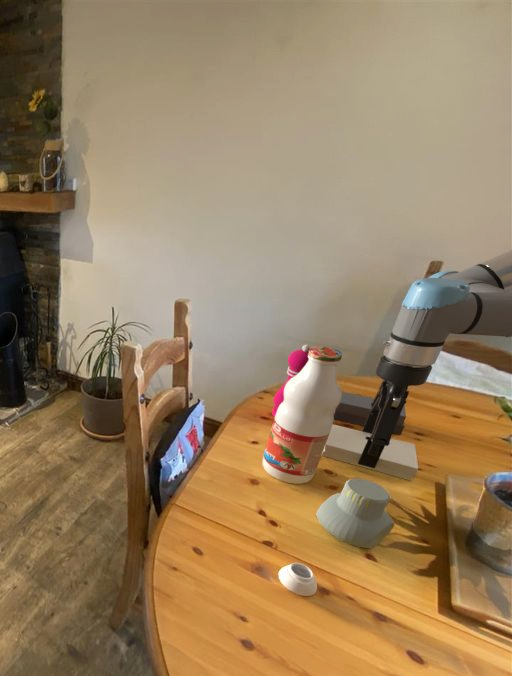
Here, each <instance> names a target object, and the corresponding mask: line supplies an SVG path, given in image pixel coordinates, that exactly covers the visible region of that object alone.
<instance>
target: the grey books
mask: <svg viewBox="0 0 512 676" xmlns="http://www.w3.org/2000/svg"><path fill="white" fill-rule="evenodd" d="M374 398H375V397H372V396H371V397H370V396H365V395H361V394H356V393H352V392H346V391H342V399H341V402H340V404H339V405H338V407H337V408H336V409H335V410H334V412H333V415H334V421H339V422H342V423H343V422H344V423H348V424H352V425H356V426H361V427H364V425H365V423H366V420H367V418H368V416H369V414H372V413H370V409H371V408H372V407H371V403H372V402H373V400H374ZM405 405H406V404H405ZM405 405H404V407H403V409H402V411H401V413H400V416H399V419H398V421H397V424H396V426H395V429H394V431H393V434H394V435H399V436H401V435H402V433H403V432H404V429H405V427H406V425H405V420H406V419H407V413H406V406H405Z"/></svg>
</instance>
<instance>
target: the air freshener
mask: <svg viewBox="0 0 512 676" xmlns="http://www.w3.org/2000/svg"><path fill="white" fill-rule="evenodd" d="M390 500H391V495H390V493H389V492H388V491H387V490H386V489H385V488H384V487H383V486H382V485H380V484H378V483H376V482H374V481H372V480H369V479H364V478H351V479H348V480H346V481H345V483H344V485H343V488H342V490H341V492H338V493H335V494H332V495H330V496H329V497H328V498H327V499H326V500H325V501H324V502H323V503H322V504H320V506H319V507H318V508H317V510H316V513H315V516H316V518H317V520H318V522H319V523H320V525H321V526H322V527H323V529H324V530H325V531H327V532H328V533H329V534H330V535H331V536H333V537H334V538H336V539H338V540H339V541H341V542H344V543H346V544H349V545H351V546H354V547H359V548H364V549H373V548H374V547H376V546H378V545H379V544H380V543H381V542H382V541H383V540H385V538H386V537H387V536H389V534H390V533H391V531H392V530H393V528H394V526H395V521H394V520H393V519H392V516H390V515H389V513H388V512H387V511H386V508H387V507H388V504H389V502H390Z"/></svg>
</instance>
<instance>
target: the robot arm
mask: <svg viewBox="0 0 512 676" xmlns="http://www.w3.org/2000/svg"><path fill="white" fill-rule="evenodd" d="M405 295H406V296H405V297H404V299H403V300H402V302H401V306H400V310H399V312H398V315H397V318H396V320H395V323H394V324H393V325H394V326H393V327H392V331H391V333H390V336H389V337H388V338H389V339H385V340H383V342H382V344H383V346H385V347H384V350H383V355H382V356H381V357H380V359H379V362H378V364H377V366H376V368H375V374H376V376H377V377H379V378H380V379H382V381H381V383H380V386H379V388H378V390H377V392H376V395H375V396H374V397H373V398H374V400H373V402H372V403H371V407H372V408H371V409H370V413H372V414H369V416H368V418H367V420H366V423H365V425H364V426H362V430H361V431H362V432H367V433H371V434H372V435H371V436H370V437H367V436H366V438H365V439H367V443H366V445H365V447H364V450H363V452H362V454H361V457H360V459H359V461H358V464H360V465H364V466H367V467H371V468H374V469H375V466H376V464H377V462H378V460H379V458H380V456H381V453H382V451H383V449H384V447H385V446H388V445H389V444H390V439H391V438H392V437H393V434H394V433H393V431H394V429H395V426H396V424H397V421H398V419H399V416H400V413H401V411H402V409H403V407H404V405H406V404H407V399H408V396H409V392H410V391H409V390H408V388H409V387H411V386H412V387H413V386H414V387H415V386H422V385H424V384H425V383H426V382H427V380H428V378H429V376H430V374H431V372H432V370H433V365H435V364H436V362H437V360H438V357H439V355H441V352H442V350H443V348H444V345H445V342H446V341H447V339H448V337H449V335H451V334H452V335H467V336H468V335H470V336H471V335H472V336H487V337H489V336H490V337H504V338H512V249H510V250H508V251H505V252H503V253H501V254H498V255H496V256H494V257H492V258H489V259H487V260H485V261H482V262H479V263H477V264H475V265H472V266H470V267H468V268H466V269H463V270H462V271H457V270H456V271H455V270H444V271H439V272H436V273H434V274H431V275H430V276H429V277H425V278H420V279H417V280H415V281H414V282H412V284H411V285H410V288H409V289H408V290H407V293H406V294H405Z"/></svg>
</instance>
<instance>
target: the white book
mask: <svg viewBox="0 0 512 676" xmlns="http://www.w3.org/2000/svg"><path fill="white" fill-rule="evenodd" d="M371 435H372V434H371V433H367V432H362V430H357V429H354V428H350V427H345V426H342V425H336V424H333V426H332V429H331V432H330V434H329V437H328V439H327V442H326V445H325V447H324V449H327V450H331V451H335V452H338V453H342V454H346V455H349V456H353V457H357V458H360V457H361V454H362V452H363V450H364V447H365V445H366V443H367V439H365V438H366V436H367V437H370V436H371ZM418 462H419V461H418V455H417V449H416V444H415V443H412V442H408V441H404V440H400V439H395V438H392V437H391V439H390V444H389V445H388V446H385V447H384V449H383V451H382V453H381V456H380V458H379V460H378V462H377V463H379V464H383V465H386V466H390V467H394V468H398V469H401V470H405V471H409V472H412V473H417V474H418V471H419V464H418Z"/></svg>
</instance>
